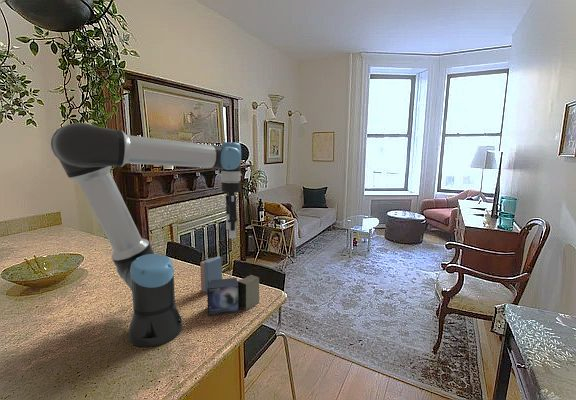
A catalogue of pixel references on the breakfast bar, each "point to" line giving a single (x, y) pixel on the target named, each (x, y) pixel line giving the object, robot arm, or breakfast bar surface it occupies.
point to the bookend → (248, 292)
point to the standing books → (210, 271)
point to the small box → (222, 296)
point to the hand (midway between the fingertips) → (230, 233)
